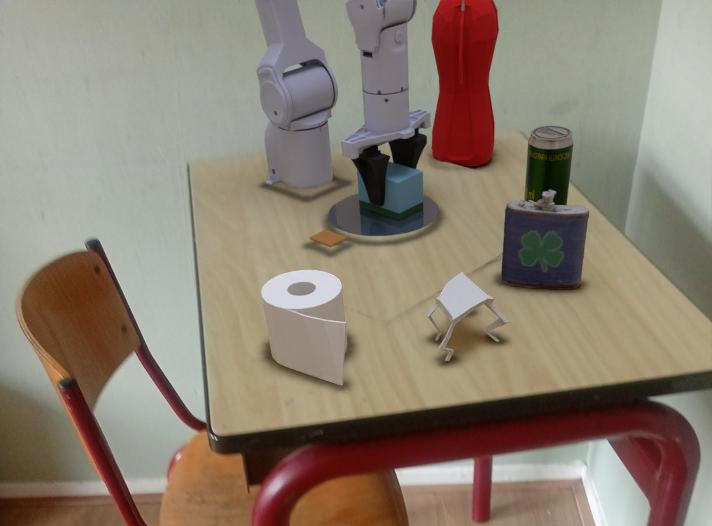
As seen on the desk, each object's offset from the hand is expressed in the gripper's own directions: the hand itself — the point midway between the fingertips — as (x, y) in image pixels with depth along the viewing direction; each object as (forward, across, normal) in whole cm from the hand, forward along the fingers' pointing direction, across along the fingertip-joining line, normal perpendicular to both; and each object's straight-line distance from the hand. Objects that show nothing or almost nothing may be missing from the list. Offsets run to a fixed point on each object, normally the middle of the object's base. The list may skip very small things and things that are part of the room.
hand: (390, 197), depth 108 cm
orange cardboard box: (+2, -12, 0) cm, 12 cm away
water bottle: (+3, +22, +5) cm, 22 cm away
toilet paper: (+3, -31, -18) cm, 36 cm away
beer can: (+3, +9, -19) cm, 21 cm away
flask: (+3, -3, -27) cm, 27 cm away
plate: (+2, -2, 0) cm, 3 cm away
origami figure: (+3, -17, -27) cm, 32 cm away
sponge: (+1, 0, 0) cm, 1 cm away
